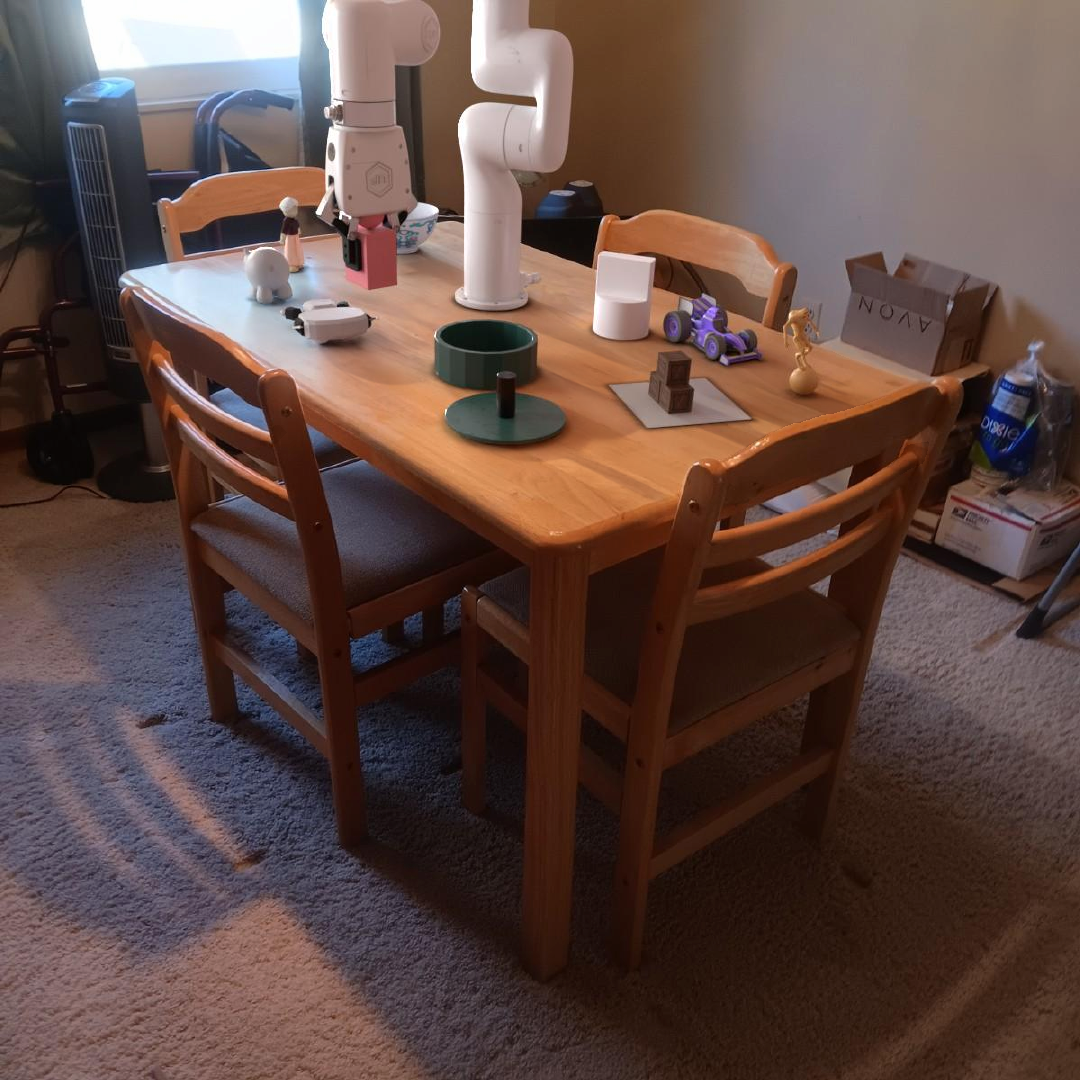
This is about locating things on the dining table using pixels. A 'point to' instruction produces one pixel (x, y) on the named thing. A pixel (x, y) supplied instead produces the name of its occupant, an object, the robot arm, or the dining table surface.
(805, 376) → the figurine
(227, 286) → the dining table surface
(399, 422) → the dining table surface
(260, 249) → the toy rhinoceros
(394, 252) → the pink bear head stamp
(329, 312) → the robot toy
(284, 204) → the grandmother figurine
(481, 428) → the pot lid
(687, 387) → the stack of crates
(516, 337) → the pot
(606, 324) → the cylinder with rectangular tab
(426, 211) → the chinaware
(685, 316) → the toy race car
